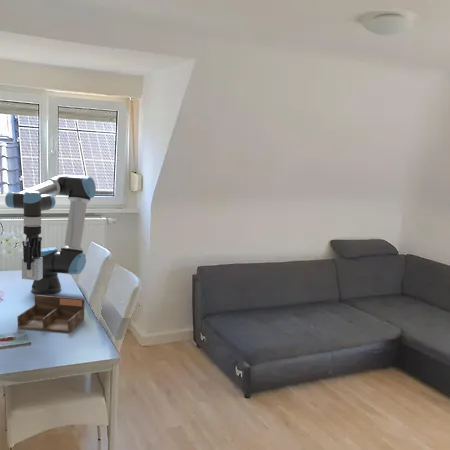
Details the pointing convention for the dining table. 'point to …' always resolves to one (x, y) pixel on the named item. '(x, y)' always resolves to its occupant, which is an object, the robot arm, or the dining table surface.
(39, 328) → the rack
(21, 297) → the dining table surface
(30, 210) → the robot arm
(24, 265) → the block
